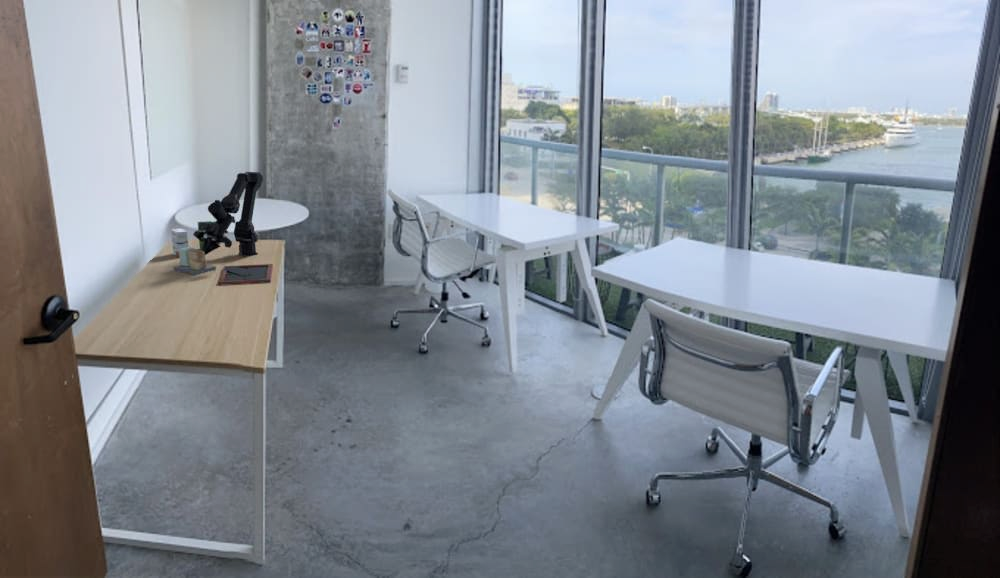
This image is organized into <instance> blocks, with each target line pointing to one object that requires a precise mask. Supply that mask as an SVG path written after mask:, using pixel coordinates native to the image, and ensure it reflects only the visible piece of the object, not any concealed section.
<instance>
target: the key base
mask: <svg viewBox="0 0 1000 578" xmlns="http://www.w3.org/2000/svg"><path fill="white" fill-rule="evenodd" d="M172 268H173V271H175V272H179V273H180V272H181V273H184V274H187V273H188V275H191V274H192V276H198V275H201V273H202V274H206V273H209V272H212V270H213V271H216V270H217V266H216V265H211V264H208V263H206V268H203V269H199V270H195V269H191V268H190V266H183V265H180V264H179V265H176V266H173V267H172ZM208 271H209V272H208ZM205 272H206V273H205ZM197 274H198V275H197Z"/></svg>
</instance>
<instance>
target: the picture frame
mask: <svg viewBox="0 0 1000 578" xmlns="http://www.w3.org/2000/svg"><path fill="white" fill-rule="evenodd" d="M273 267H274V265H273V263H265V264H264V263H263V264H262V263H261V264H246V265H243V264H241V265H225V266H223V268H222V271H221V274H220V277H219V279H218V286H222V285H221V284H233V285H243V284H242V283H251V284H266V283H265V282H269V283H271V282H272V275H273V269H274V268H273ZM261 282H262V283H261ZM263 282H264V283H263Z"/></svg>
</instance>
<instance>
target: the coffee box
mask: <svg viewBox="0 0 1000 578" xmlns="http://www.w3.org/2000/svg"><path fill="white" fill-rule="evenodd" d="M200 222H201V221H197V231H203V232H204V233H205V231H204V230H201V229H198V228H199V224H200ZM203 222H204V223H210V222H213V223H215V222H216V220H207V221H206V220H205V221H203ZM205 234H207V233H205ZM207 235H208V234H207ZM198 244H199V249H201V250H202V247H203V242H201V241H200V240H199V239H198Z"/></svg>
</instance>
